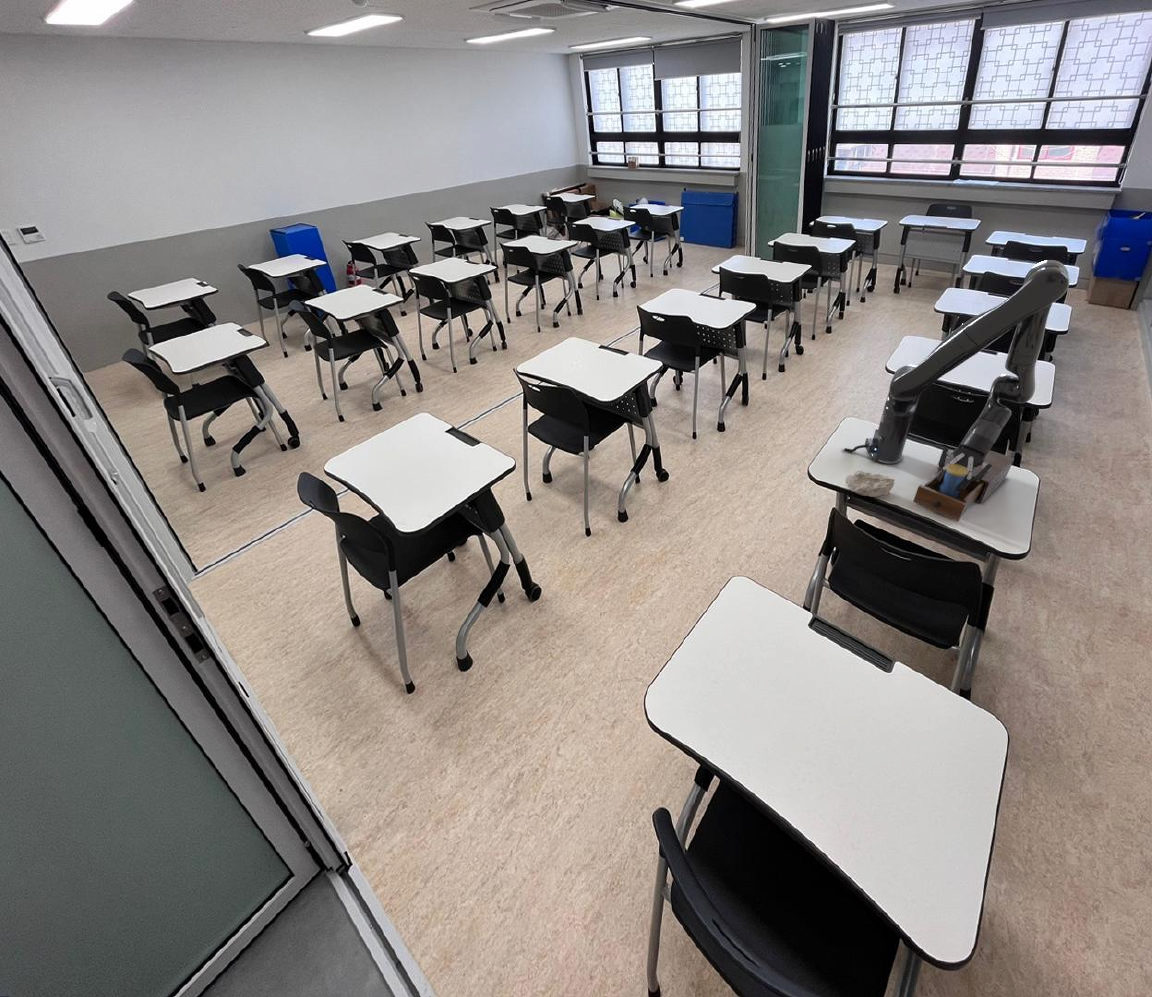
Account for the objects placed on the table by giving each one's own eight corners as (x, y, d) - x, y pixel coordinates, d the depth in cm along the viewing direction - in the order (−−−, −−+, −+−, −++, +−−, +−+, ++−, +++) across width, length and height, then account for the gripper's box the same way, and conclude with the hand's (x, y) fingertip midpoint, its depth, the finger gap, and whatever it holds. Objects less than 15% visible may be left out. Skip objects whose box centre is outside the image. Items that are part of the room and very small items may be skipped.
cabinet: (980, 503, 178) (989, 482, 173) (932, 483, 187) (939, 463, 182) (1005, 479, 186) (1014, 458, 181) (957, 461, 195) (965, 441, 190)
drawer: (956, 523, 170) (963, 507, 167) (911, 503, 179) (916, 487, 175) (982, 497, 178) (990, 480, 175) (938, 479, 187) (944, 463, 183)
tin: (952, 503, 174) (963, 476, 168) (933, 495, 177) (943, 469, 171) (960, 495, 176) (971, 468, 170) (942, 487, 180) (952, 461, 174)
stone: (873, 509, 185) (896, 490, 178) (840, 487, 186) (862, 468, 179) (875, 496, 190) (898, 477, 183) (844, 475, 191) (865, 455, 184)
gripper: (954, 424, 173) (923, 473, 175) (1006, 442, 164) (973, 493, 166) (956, 432, 179) (926, 479, 181) (1007, 450, 170) (975, 499, 172)
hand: (949, 486), depth 173 cm, fingers closed on tin, 5 cm apart
